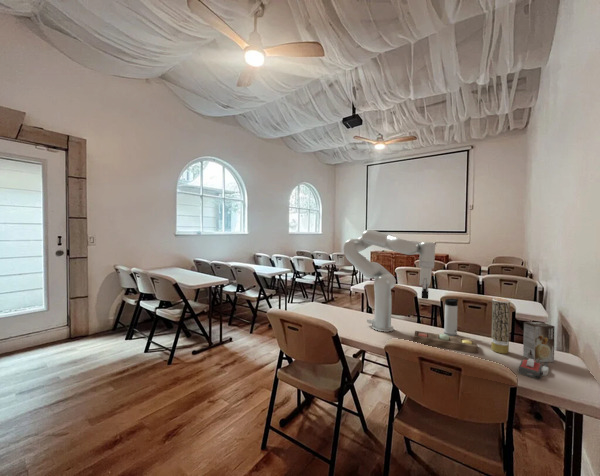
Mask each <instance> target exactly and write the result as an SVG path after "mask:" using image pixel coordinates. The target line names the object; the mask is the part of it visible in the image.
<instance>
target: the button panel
mask: <svg viewBox="0 0 600 476" xmlns="http://www.w3.org/2000/svg"><path fill="white" fill-rule="evenodd" d="M418 333H424V334H427V337H423V336H418ZM439 334H440V333H439ZM439 334H438V333H431V332H426V331H421V330H420V331H419V330H415V331H414V335H413V342H414V341H415V342H419V343H418V344H420V343H423V344H422V345H428V346H432V347H440V348H445V349H451V350H454V351H455V350H457V351H461V350H462V351H461V352H468V353H475V354H478V353H479V347H478V343H477V341H476V339H471V338H465V337H457V336H449V341H448V340H441V339H439ZM462 340H469V341H471V342H472V344H466V343H462ZM415 342H414V343H415Z"/></svg>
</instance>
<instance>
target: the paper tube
mask: <svg viewBox="0 0 600 476" xmlns="http://www.w3.org/2000/svg"><path fill="white" fill-rule="evenodd" d="M510 314H511V301H510V300H509V299H507V298H506V299H505V298H498V297H493V298H492V308H491V339H490V340H491V347H490V348H491V350H492V351H493V352H495V353H498V354H502V355H505V354H508V353H509V352H510V351H509V347H510V316H511V315H510Z"/></svg>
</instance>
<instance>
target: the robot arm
mask: <svg viewBox="0 0 600 476" xmlns="http://www.w3.org/2000/svg"><path fill="white" fill-rule="evenodd" d="M372 246H375V247H376V246H377V247H380V248H383V249H386V250H389V251H393V252H396V253H400V254H404V255H408V256H411V255H419V261H418V268H420V272H419V282H418V283H419V285H418V286H422V288H421V289H422V290H421V299H425V300H428V299H429V292H430V291H429V287H430V285H431V281H432V279H431V278H432V269H435V258H436V255H435V254H436V243H435V242H433V241H432V242H430V241H429V242H428V241H422V242H421V241H417V240H406V239H403V238H399V237H395V236H393V235H392V234H389V233H384V232H380V231H377V230H375V229H367V230H364V231H363V232H362V234H361V236H360V237H358V238H350V239H348V240H346V241H345V242H344V244H343V249H342V250H343V254H344V256H345V258H346V260H347V261H348V262H349V263H351V264H352V266H354V267H355V269H357V270H358V271H359V272H360V273H361V275H363V276H364V277H365V278H367V279H374V281H373V290H374V315H373V316H374V319H373V318H372V319H369V318H367V319H366V323H368V324H370V325H371V328H372V330H374V329H375V330H374V331H377V330H378V331H377V332H381V331H384V332H383V333H390V332H389V331H391V332H393V331H394V330H395V327H394V326H392V289H393V288H394V287H395V286H396V282H397V281H396V278H395V276H394V275H393V274H392V273H391V272H390V271H389V270H388V269H386V268H385V267H384V266H383V265H381V264H380V263H379V262H376V261H370V260H369V259H367V257H365V256H364V255H363V254H361V253H360V252H362V251H365V250H367V249H368V248H370V247H372Z"/></svg>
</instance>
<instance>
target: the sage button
mask: <svg viewBox="0 0 600 476" xmlns="http://www.w3.org/2000/svg"><path fill="white" fill-rule="evenodd" d="M439 339H441V340H448V341H449V335H446V334H445V333H439Z"/></svg>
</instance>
